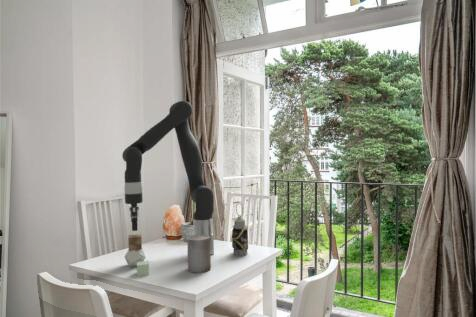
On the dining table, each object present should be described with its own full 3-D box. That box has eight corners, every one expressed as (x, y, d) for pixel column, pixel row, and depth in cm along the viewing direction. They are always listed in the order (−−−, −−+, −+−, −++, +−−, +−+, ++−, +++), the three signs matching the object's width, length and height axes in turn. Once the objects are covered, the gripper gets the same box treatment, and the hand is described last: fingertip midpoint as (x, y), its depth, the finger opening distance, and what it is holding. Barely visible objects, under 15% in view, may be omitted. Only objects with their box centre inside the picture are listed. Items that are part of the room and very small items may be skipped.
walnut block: (141, 246, 159) (141, 234, 159) (141, 249, 154) (141, 236, 154) (128, 247, 158) (128, 235, 158) (128, 250, 152) (128, 237, 152)
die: (134, 271, 150) (147, 251, 153) (117, 260, 151) (131, 241, 154) (139, 272, 157) (151, 253, 160) (123, 262, 159) (136, 243, 162)
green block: (148, 271, 147) (148, 261, 147) (148, 275, 143) (148, 264, 143) (137, 272, 146) (137, 262, 146) (137, 276, 141) (137, 265, 141)
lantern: (251, 254, 169) (250, 202, 169) (237, 257, 166) (236, 204, 165) (242, 250, 177) (241, 200, 177) (228, 252, 173) (227, 202, 173)
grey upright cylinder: (205, 264, 155) (204, 230, 155) (214, 270, 147) (213, 234, 146) (184, 268, 151) (183, 233, 151) (192, 274, 142) (191, 237, 142)
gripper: (142, 193, 150) (144, 231, 150) (142, 190, 164) (143, 225, 164) (124, 194, 148) (125, 232, 148) (125, 191, 161) (126, 226, 162)
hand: (134, 228), depth 156 cm, fingers open, 8 cm apart
